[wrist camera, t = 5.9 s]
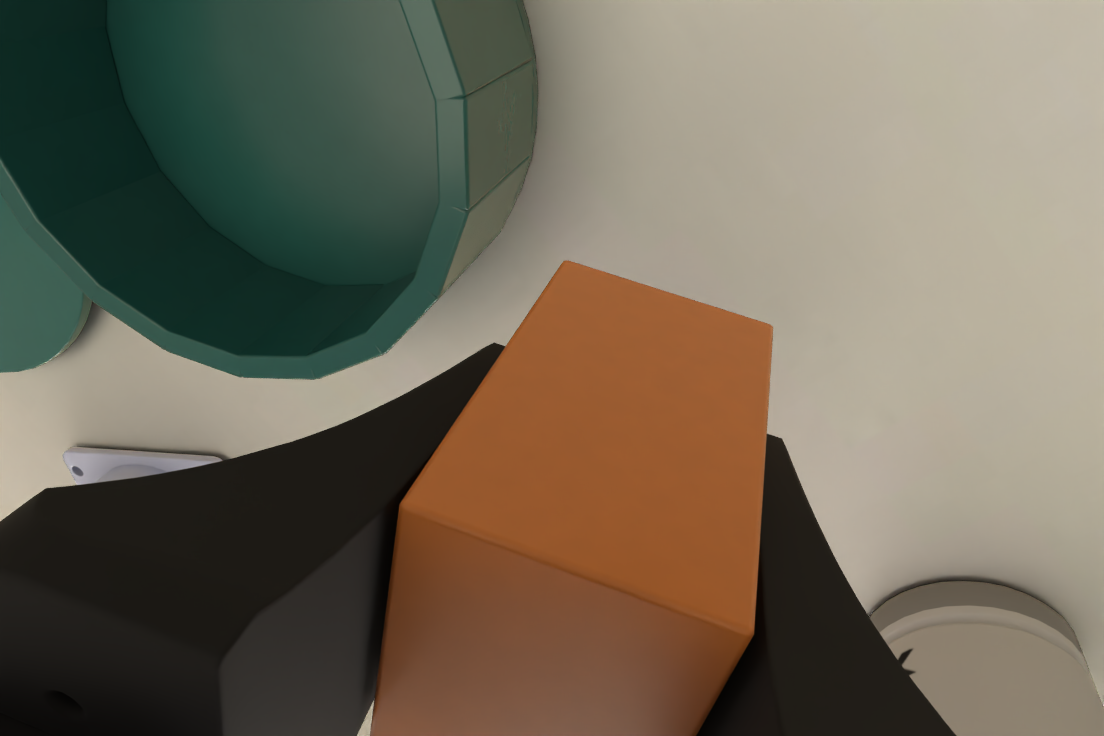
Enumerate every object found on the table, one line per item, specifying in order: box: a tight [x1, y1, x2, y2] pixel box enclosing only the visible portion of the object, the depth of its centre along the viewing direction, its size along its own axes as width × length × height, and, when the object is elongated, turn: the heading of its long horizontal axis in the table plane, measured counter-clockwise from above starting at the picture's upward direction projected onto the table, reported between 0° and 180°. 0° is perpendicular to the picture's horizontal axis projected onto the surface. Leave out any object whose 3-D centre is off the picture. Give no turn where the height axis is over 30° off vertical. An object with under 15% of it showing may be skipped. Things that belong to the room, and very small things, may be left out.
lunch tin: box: [0, 0, 538, 380], centre depth 19 cm, size 13×13×5 cm
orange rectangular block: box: [370, 261, 773, 736], centre depth 10 cm, size 4×3×6 cm
